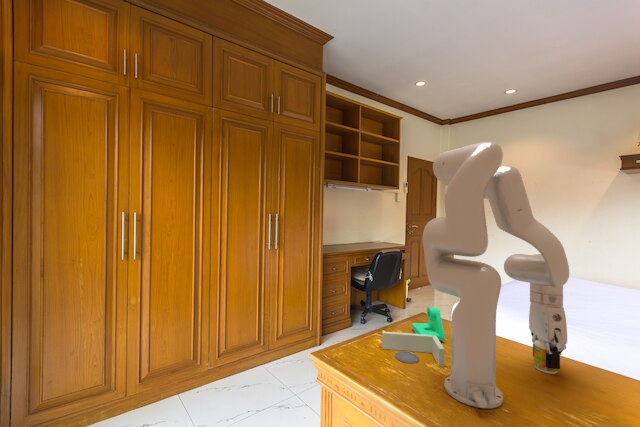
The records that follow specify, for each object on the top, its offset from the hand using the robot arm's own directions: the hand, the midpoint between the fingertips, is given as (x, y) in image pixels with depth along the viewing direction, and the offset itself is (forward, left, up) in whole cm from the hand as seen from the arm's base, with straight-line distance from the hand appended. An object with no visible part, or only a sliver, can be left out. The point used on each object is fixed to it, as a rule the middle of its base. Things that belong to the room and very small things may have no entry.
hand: (545, 362), depth 84 cm
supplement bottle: (0, 0, -2) cm, 2 cm away
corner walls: (+1, +37, -2) cm, 37 cm away
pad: (0, +38, -2) cm, 38 cm away
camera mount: (+19, +28, -2) cm, 34 cm away
